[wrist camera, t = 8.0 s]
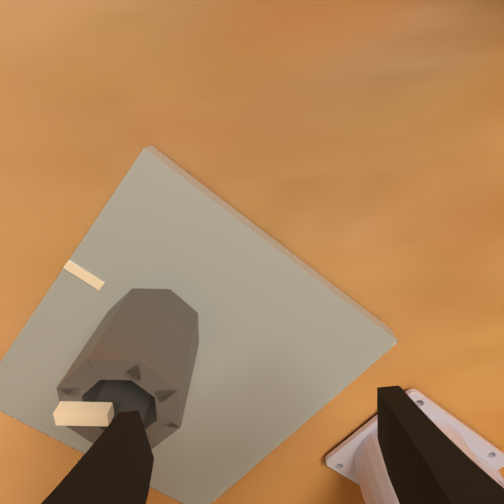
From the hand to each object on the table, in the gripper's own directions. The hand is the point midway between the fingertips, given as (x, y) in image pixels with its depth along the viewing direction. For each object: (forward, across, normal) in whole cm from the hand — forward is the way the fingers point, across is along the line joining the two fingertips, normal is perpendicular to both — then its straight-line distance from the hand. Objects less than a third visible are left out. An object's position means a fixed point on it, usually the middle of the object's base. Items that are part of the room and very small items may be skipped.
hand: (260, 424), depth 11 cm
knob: (+8, +6, +1) cm, 10 cm away
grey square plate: (+9, +5, +4) cm, 11 cm away
